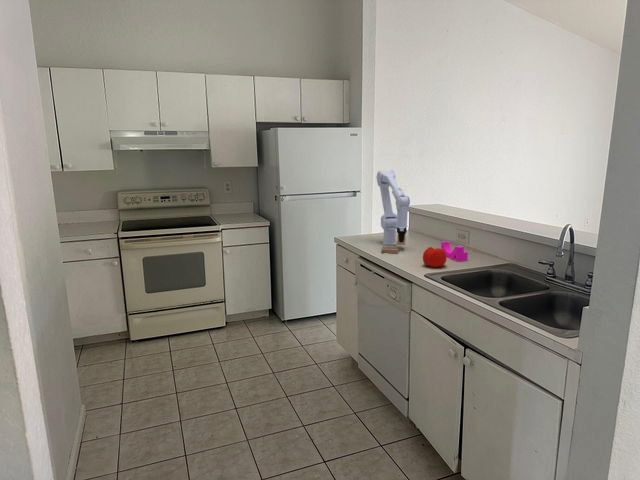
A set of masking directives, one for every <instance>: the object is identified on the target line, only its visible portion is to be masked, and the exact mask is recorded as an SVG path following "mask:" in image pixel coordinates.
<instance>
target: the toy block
mask: <svg viewBox="0 0 640 480" xmlns="http://www.w3.org/2000/svg"><path fill="white" fill-rule="evenodd" d="M440 249H442V250H444V251H445V252H446V257H447V259H449V260H452V261H455V262H467V261H468V257H469V256H468V254H469V253H468V251H465V246H462V245H458V246H457V245H455V246H454V248H453V250H452V248H451V243H450V241H441V242H440Z"/></svg>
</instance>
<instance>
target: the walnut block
mask: <svg viewBox="0 0 640 480" xmlns="http://www.w3.org/2000/svg"><path fill="white" fill-rule="evenodd" d="M399 246H400V245H382V248H381V254H383V253H388V254H387V255H399V250H400V247H399Z"/></svg>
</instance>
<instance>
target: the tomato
mask: <svg viewBox="0 0 640 480" xmlns="http://www.w3.org/2000/svg"><path fill="white" fill-rule="evenodd" d="M447 259H448V258H447V257H446V252H445V251H444V250H442V249H441V247H440V248H439V247H436V248H434V247H432V246H430V247H429V246H428V247H427V248H425V250H424V252H423V255H422V262H423V264H424V265H426V266H428V267H431V268H434V269H435V268H438V267H440V268H441V267H444V266H445V264H446V263H447Z"/></svg>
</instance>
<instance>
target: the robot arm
mask: <svg viewBox="0 0 640 480" xmlns="http://www.w3.org/2000/svg"><path fill="white" fill-rule="evenodd" d="M376 183H377V186H378V187H379V190H380V197H381V203H382V207H383V214H382V216H381V217H380V227H381V228H382V230H383V241H382V246H397V240H396V239H397V237H398V236H399V242H403V241H404V237H405V235H406V233H407V232H408V231H407V228H408V207H409V206H410V204H411V199H410V196H407V195H406V194H405V193H404V191H403V189H402V188H401V186H399V185H398V183H397V181H396V172H395V171H394V170H379V171H377V173H376ZM389 187H390V189H392V191H391V193H392V195H393V198H394V199H395V207H396V208H395V209H396V213H394V212H393V207H392V206H393V205H392V200H391V196H390V195H391V193H390V189H389ZM396 234H397V235H396ZM396 236H397V237H396Z"/></svg>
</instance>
